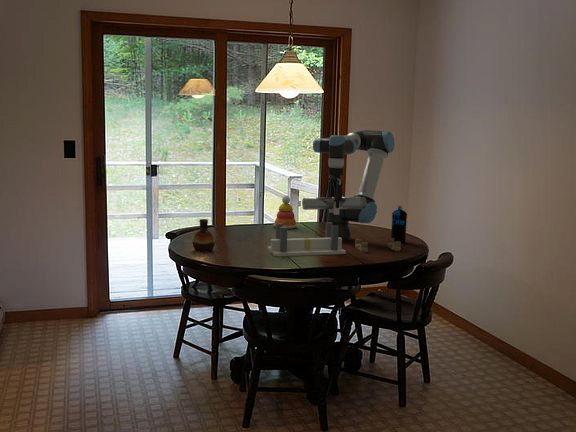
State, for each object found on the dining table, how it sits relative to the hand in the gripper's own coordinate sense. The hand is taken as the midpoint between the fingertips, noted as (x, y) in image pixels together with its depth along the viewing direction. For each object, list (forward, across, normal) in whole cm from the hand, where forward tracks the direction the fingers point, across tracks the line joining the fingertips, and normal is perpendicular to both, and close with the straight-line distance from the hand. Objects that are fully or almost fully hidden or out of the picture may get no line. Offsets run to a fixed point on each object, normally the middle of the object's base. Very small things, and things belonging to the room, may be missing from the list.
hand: (334, 213), depth 309 cm
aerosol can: (+19, -14, +43) cm, 49 cm away
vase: (+20, -14, -63) cm, 67 cm away
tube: (-2, 0, 0) cm, 2 cm away
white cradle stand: (+19, -1, -13) cm, 24 cm away
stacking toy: (+19, -66, -6) cm, 69 cm away
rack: (+19, 0, +24) cm, 31 cm away
